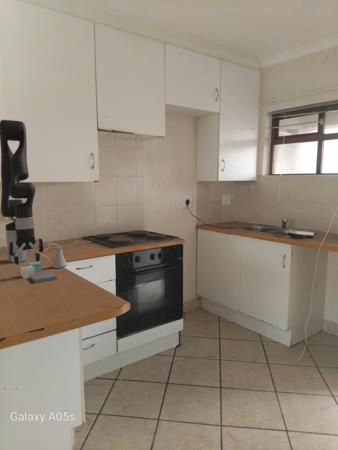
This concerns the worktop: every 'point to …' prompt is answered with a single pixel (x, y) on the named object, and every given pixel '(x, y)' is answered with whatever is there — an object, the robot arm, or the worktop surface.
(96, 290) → the worktop surface
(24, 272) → the white brick
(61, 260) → the flask
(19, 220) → the robot arm
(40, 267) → the teal brick
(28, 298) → the worktop surface
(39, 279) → the base plate
